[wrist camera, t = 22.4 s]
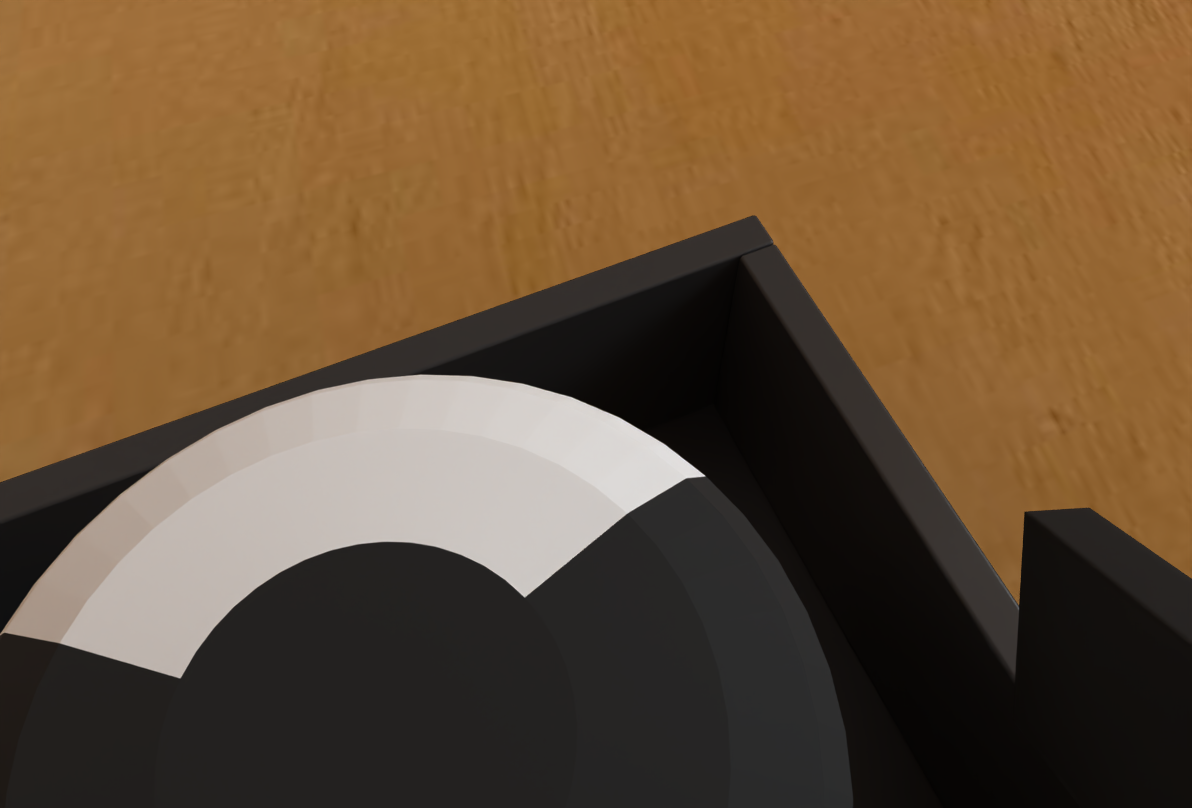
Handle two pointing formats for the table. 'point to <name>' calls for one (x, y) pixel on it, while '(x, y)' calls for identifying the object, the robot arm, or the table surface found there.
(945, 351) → the table surface
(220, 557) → the medicine bottle
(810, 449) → the tote
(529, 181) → the table surface
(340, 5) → the table surface
